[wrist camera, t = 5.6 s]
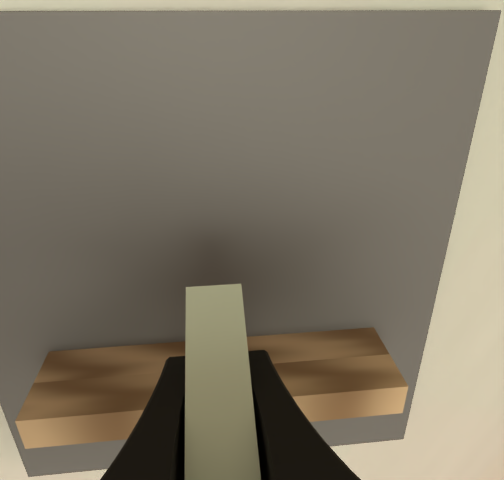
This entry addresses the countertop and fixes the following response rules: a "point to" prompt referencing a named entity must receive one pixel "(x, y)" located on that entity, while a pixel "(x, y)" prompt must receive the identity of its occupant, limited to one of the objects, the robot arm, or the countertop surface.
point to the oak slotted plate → (154, 355)
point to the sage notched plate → (218, 387)
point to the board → (228, 181)
